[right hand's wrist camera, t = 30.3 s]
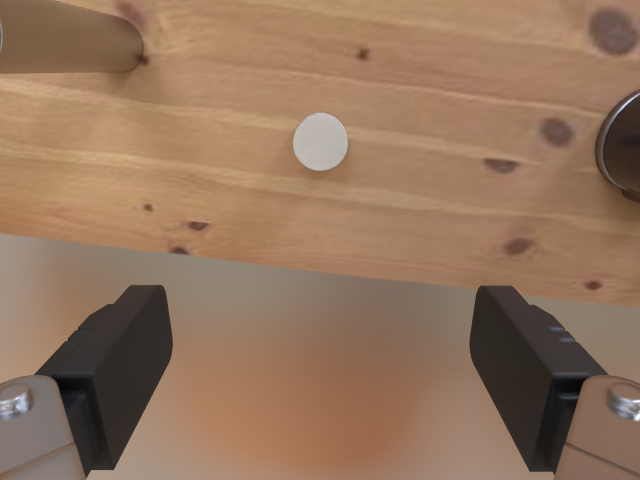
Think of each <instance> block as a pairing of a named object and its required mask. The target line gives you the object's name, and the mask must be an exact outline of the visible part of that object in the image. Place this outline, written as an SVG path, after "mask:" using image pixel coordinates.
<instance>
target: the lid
mask: <svg viewBox="0 0 640 480" xmlns="http://www.w3.org/2000/svg"><path fill="white" fill-rule="evenodd" d="M347 148H348V138H347V134H346V131H345V129H344V127H343V125H342V124H341V122H340V121H339V120H338V119H337V118H335V117H334V116H332V115H330V114H327V113H314V114H311V115H309V116H307V117H305V118H304V119H303V120H302V121H301V122H300V123H299V125H298V126H297V129H296V131H295V134H294V137H293V149H294V152H295V155H296V157H297V158H298V160H299V161H300V162H301V163H302V164H303V165H304V166H306V167H307V168H309V169H312V170H316V171H325V170H329V169H332V168H334V167H335V166H337V165H338V164H339V163H340V162H341V161H342V160H343V158H344V156H345V154H346V152H347Z"/></svg>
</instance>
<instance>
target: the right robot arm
mask: <svg viewBox="0 0 640 480" xmlns="http://www.w3.org/2000/svg"><path fill="white" fill-rule="evenodd" d="M596 157H597V162H598V166H599V168H600V170H601V172H602V174H603V175H604V177H605V178H606V179H607V180H608V181H609V182H611V183H612V184H613V185H615V186H617V187H619V188H621V189H622V191H623V195H624V197H626V198H628V199H630V200H633V201H635V202H638V203H640V90H638V91H636V92H634V93H632V94H631V95H629V96H628V97H626V98H625V99H624V100H622V101H621V102H620V103H619V104H618V105H617V106H616V107H615V108H614V109H613V110H612V112H611V113H610V114H609V116H608V117H607V119H606V120H605V122H604V124H603V126H602V128H601V130H600V133H599V136H598V140H597V146H596ZM172 346H173V339H172V331H171V324H170V317H169V311H168V304H167V297H166V292H165V289H164V287H163V286H162V285H131V286H129V287H128V288H127V289H126V291H125V292H124V293H123V294H122V295H121V296H120V297H119V299H118V300H117V301H116V302H115V303H114V304H108V305H106V306H104V307H103V308H101V309H99V310H98V311H96V312H94V313H93V314H91V315H90V316H89V317H88V318H87V319H86V320H85V321H84V322H83V323H82V324H81V325H80V326H79V327H78V330H76V331H75V332H74V333H73V334H72V335H71V336H70V337H69V338H68V341H65V342H64V343H63V344H62V345H61V346H60V348H59V349H58V350H57V351H56V352H55V353H54V354H53V355H52V356H51V357H50V358H49V359H48V360H47V362H45V364H44V365H43V366H42V367H41V368H40V369H39V370H38V371H37V372H36V373H35V374H34V375H30V376H23V377H19V378H15V379H12V380H9V381H6V382H3V383H1V384H0V480H86V478H87V476H88V474H89V473H90V471H91V470H114V468H115V466H116V464H117V462H118V461H119V459H120V457H121V455H122V453H123V451H124V449H125V447H126V445H127V443H128V441H129V439H130V437H131V435H132V433H133V431H134V429H135V427H136V426H137V424H138V422H139V420H140V418H141V416H142V414H143V412H144V410H145V408H146V406H147V404H148V402H149V400H150V398H151V396H152V394H153V393H154V391H155V389H156V387H157V385H158V383H159V381H160V379H161V377H162V375H163V373H164V371H165V369H166V367H167V365H168V363H169V361H170V358H171V354H172ZM470 353H471V358H472V361H473V364H474V366H475V367H476V369H477V371H478V373H479V375H480V377H481V379H482V381H483V383H484V385H485V387H486V388H487V391H488V393H489V394H490V396H491V398H492V400H493V402H494V404H495V406H496V408H497V410H498V412H499V414H500V416H501V417H502V419H503V421H504V423H505V425H506V427H507V429H508V431H509V433H510V435H511V437H512V439H513V440H514V442H515V444H516V446H517V448H518V450H519V452H520V454H521V456H522V458H523V460H524V462H525V463H526V465H527V467H528V469H529V471H530V472H553V473H554V475H555V477H554V480H640V384H639V383H637V382H634V381H631V380H628V379H625V378H621V377H617V376H610V375H608V374H607V373H606V371H605V370H604V369H603V368H602V367H601V366H600V365H599V364H598V363H597V362H596V361H595V360H594V359H593V358H592V357H591V356H590V355H589V354H588V352H587V351H586V350H585V349H584V348H583V347H582V346H581V345H580V344H579V343H578V342H575V339H574V338H573V337H572V336H571V334H570V333H569V332H568V331H565V328H564V327H563V326H562V325H561V324H560V323H559V322H558V321H557V320H556V319H555V318H554V316H552V315H551V314H549V313H547V312H545V311H544V310H542V309H540V308H539V307H537V306H535V305H529V304H528V303H527V302H526V301H525V300H524V298H523V297H522V296H521V295H520V294H519V293H518V292H517V291H516V289H515V288H514V287H512V286H480V287H479V288H478V290H477V294H476V300H475V307H474V313H473V320H472V327H471V334H470Z"/></svg>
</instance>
